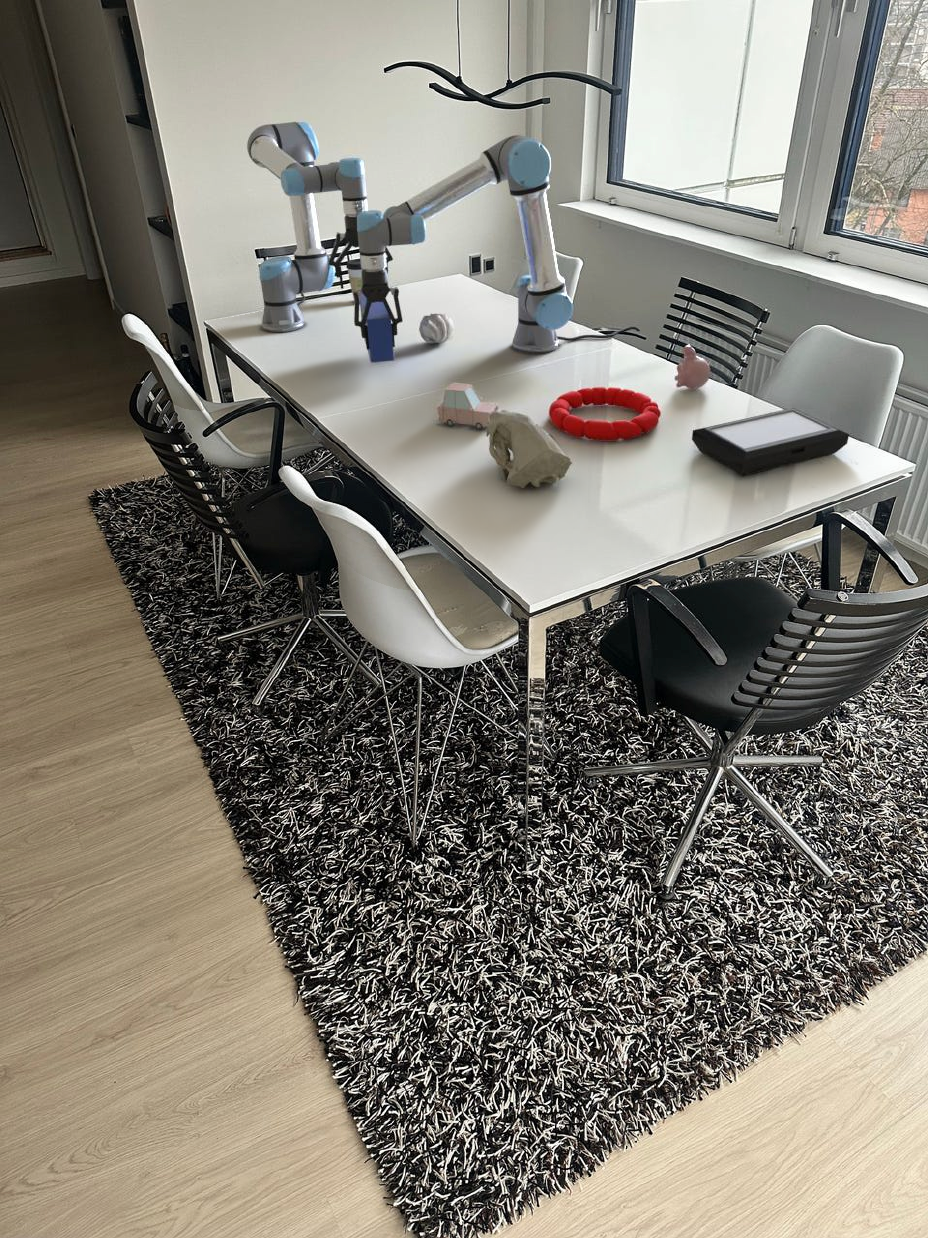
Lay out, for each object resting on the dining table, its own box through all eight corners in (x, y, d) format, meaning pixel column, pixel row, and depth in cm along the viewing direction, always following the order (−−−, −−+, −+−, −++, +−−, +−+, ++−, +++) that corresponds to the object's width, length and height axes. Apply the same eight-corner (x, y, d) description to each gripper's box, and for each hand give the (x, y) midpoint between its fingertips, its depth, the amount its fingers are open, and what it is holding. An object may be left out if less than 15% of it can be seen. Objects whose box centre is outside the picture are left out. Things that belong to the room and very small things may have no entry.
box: (362, 333, 296) (359, 293, 289) (384, 332, 297) (380, 292, 289) (371, 362, 272) (367, 319, 264) (394, 360, 273) (390, 317, 265)
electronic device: (744, 456, 208) (693, 426, 223) (740, 480, 212) (690, 450, 227) (850, 430, 218) (794, 404, 233) (844, 454, 222) (789, 427, 237)
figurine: (665, 387, 264) (669, 347, 257) (693, 380, 268) (698, 340, 261) (686, 396, 257) (690, 355, 250) (714, 388, 262) (720, 348, 255)
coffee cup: (373, 304, 347) (369, 264, 338) (348, 305, 347) (344, 264, 339) (375, 297, 355) (372, 258, 347) (351, 298, 355) (347, 258, 347)
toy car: (488, 432, 240) (488, 396, 234) (436, 426, 244) (434, 390, 239) (499, 419, 247) (499, 384, 241) (448, 413, 252) (447, 379, 246)
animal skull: (496, 517, 219) (521, 479, 201) (463, 429, 225) (484, 384, 207) (557, 503, 225) (586, 465, 206) (523, 417, 231) (549, 373, 212)
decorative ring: (589, 435, 224) (684, 402, 234) (527, 398, 247) (617, 369, 256) (589, 461, 229) (683, 427, 238) (529, 422, 251) (617, 393, 260)
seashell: (411, 342, 306) (409, 313, 300) (450, 335, 312) (448, 306, 306) (425, 350, 298) (423, 320, 293) (464, 342, 304) (463, 313, 299)
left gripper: (316, 219, 270) (324, 291, 282) (397, 213, 273) (403, 285, 285) (315, 215, 276) (323, 286, 288) (395, 209, 279) (400, 280, 291)
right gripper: (340, 274, 256) (348, 353, 269) (409, 269, 258) (414, 347, 271) (338, 268, 262) (347, 346, 275) (406, 263, 264) (411, 340, 277)
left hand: (363, 286), depth 287 cm, fingers open, 13 cm apart
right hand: (380, 346), depth 273 cm, fingers closed on box, 7 cm apart
